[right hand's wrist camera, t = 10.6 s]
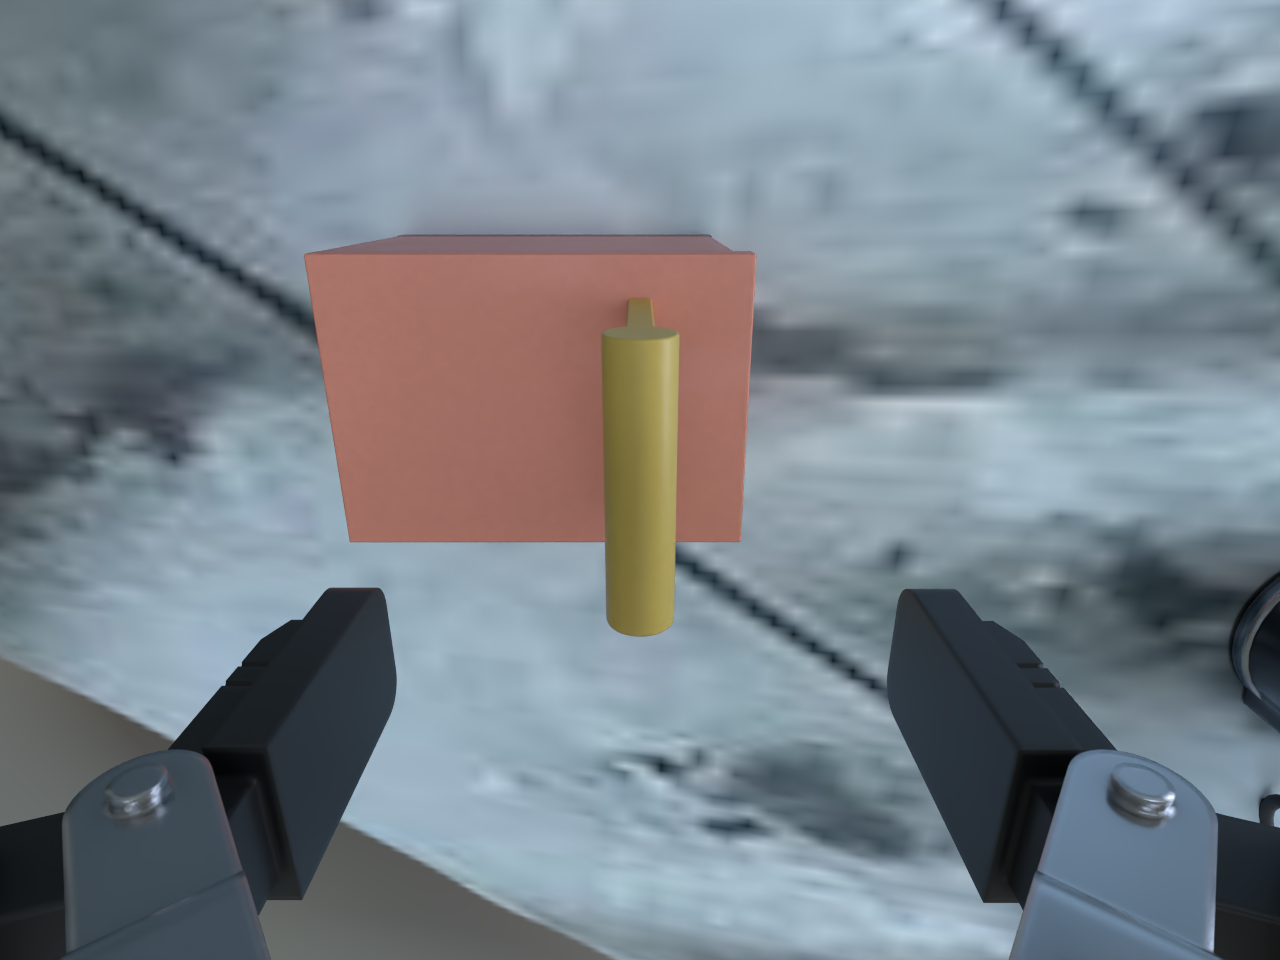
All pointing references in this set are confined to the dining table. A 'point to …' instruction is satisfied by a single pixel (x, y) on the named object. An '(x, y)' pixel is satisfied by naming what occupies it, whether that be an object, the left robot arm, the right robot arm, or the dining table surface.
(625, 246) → the chest
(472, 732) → the dining table surface
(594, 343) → the block with yellow handle
